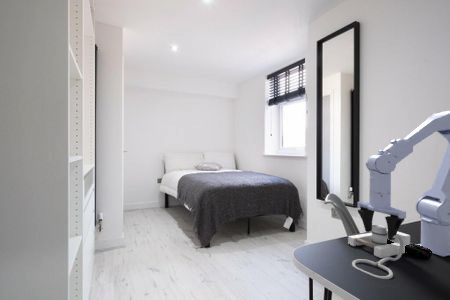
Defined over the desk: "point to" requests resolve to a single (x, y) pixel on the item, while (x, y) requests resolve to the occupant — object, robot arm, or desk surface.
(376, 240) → the white ridged cylinder
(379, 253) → the notched shelf
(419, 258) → the desk surface
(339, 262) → the desk surface
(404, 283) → the desk surface
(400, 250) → the hook
